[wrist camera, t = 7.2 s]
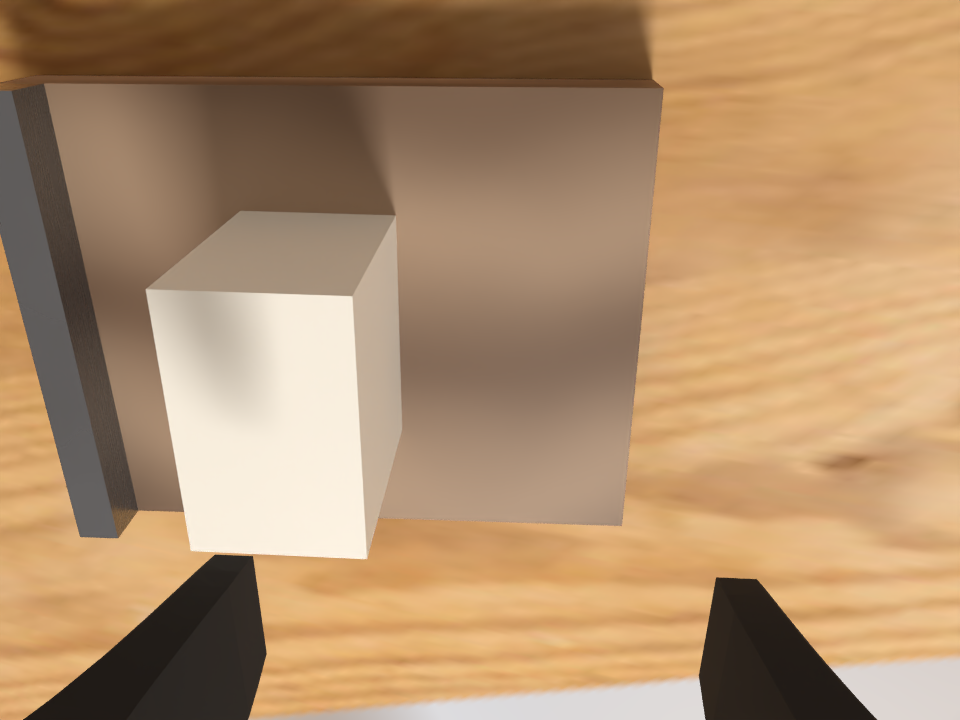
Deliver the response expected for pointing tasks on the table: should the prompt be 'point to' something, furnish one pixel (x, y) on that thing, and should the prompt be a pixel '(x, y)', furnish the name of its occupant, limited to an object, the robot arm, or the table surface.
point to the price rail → (60, 314)
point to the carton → (283, 381)
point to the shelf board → (399, 259)
